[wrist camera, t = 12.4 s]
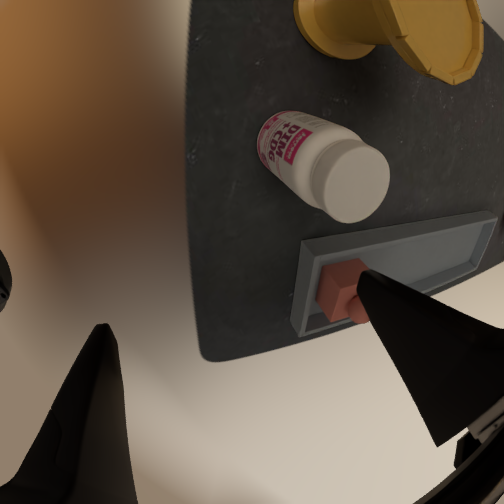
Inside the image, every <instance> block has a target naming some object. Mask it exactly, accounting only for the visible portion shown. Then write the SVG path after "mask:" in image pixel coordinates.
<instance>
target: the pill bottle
mask: <svg viewBox="0 0 504 504" xmlns="http://www.w3.org/2000/svg"><path fill="white" fill-rule="evenodd" d="M257 151H258V155H259V157H260V159H261V161H262V162H263V164H264V165H265V166H266V167H267V168H268V169H269V170H270V171H271V172H272V173H274V174H275V175H276V176H277V177H278V178H279V179H280V180H281V181H282V182H284V183H285V184H286V185H287V186H288V187H289V188H290V189H291V190H292V191H293V192H295V193H296V194H297V195H298V196H299V197H300V198H301V199H302V200H303V201H305V202H306V203H308V204H309V205H311V206H313V207H316V208H319V209H322V210H324V211H325V212H326V213H327V214H329V215H330V216H331V217H332V218H334V219H335V220H337V221H339V222H342V223H355V222H358V221H361V220H363V219H365V218H366V217H368V216H369V215H371V214H372V213H373V212H374V211H375V210H376V209H377V208H378V207H379V205H380V204H381V202H382V201H383V199H384V197H385V195H386V193H387V190H388V186H389V180H390V171H389V166H388V163H387V161H386V159H385V157H384V156H383V155H382V154H381V153H380V152H379V151H378V150H376V149H375V148H373V147H371V146H369V145H367V144H365V143H364V142H363V141H362V140H361V139H360V137H359V136H358V135H357V134H355V133H354V132H353V131H351V130H349V129H347V128H345V127H343V126H340V125H337V124H335V123H332V122H329V121H327V120H324V119H321V118H318V117H315V116H312V115H309V114H306V113H302V112H298V111H282V112H279V113H277V114H275V115H273V116H272V117H270V118H269V119H268V120H267V121H266V122H265V123H264V125H263V126H262V128H261V130H260V132H259V135H258V139H257Z"/></svg>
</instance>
